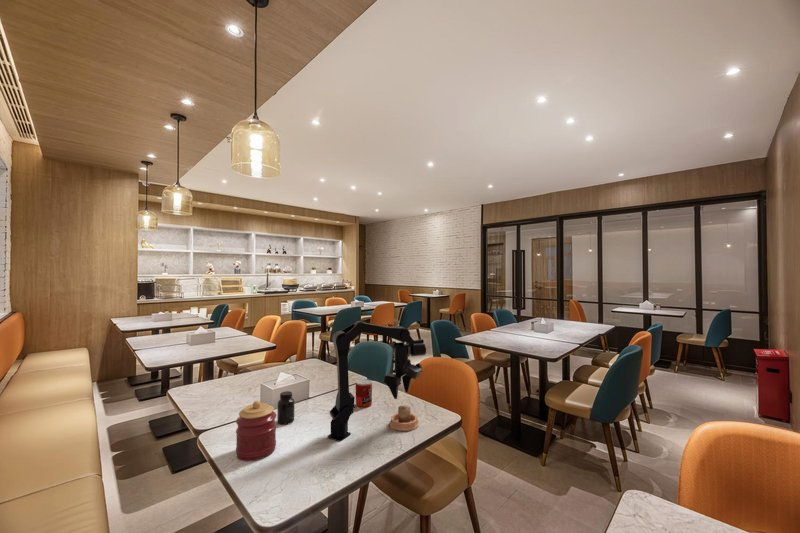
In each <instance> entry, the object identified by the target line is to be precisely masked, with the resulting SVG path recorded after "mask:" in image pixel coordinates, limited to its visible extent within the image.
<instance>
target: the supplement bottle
mask: <svg viewBox="0 0 800 533" xmlns="http://www.w3.org/2000/svg"><path fill="white" fill-rule="evenodd" d="M276 406H277V407H276V408H277V411H276V412H277V413H276V417H277V418H276V419H277V420H276V421H277V424H279V425H282V426H286V425H290V424H292V423H294V421H295V399H294V398H293V392H292V391H288V390H287V391H286V390H285V391H282V392H280V394H279V399H278V401H277V405H276Z"/></svg>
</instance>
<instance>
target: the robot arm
mask: <svg viewBox="0 0 800 533" xmlns="http://www.w3.org/2000/svg"><path fill="white" fill-rule="evenodd" d="M361 333H366V334H371V335H379V336H382V337H388V338H391V339H393V341H392V342H391V343H390V344H389V347H391V348H392V349H394V357H393V358H394V359H392V364H393V363H394V364H393V365H394V367H393V368H394V369H392V370H391V371H392V373H387V374H385V376H383V383H384V384H386V385H387V386H388V388H389V391H390V393H391V394H392V396H393V399H395V400H397V399H398V393H399V386H400V385H402V384H403V385H402V386H403V388H404V392H405V393H408V392H409V389H410V386H411V382H412V380H416V379H417V378H419V377H420V375H421V373H422V372H423V367H422V366H423V365H422V363H420V362H418V363H416V364H412V363H411V362H412V361H411V359H409V355H410V357H421V356H425V355H426V353H427V348H426V344H425V341H424V339H422V338H419V339H413V337H412V336H411V333H410V330H409V329H408V328H406V327H403V326H400V325H397V326H395V325H394V326H393V325H391V326H385V325H379V324H373V323H369V322H363V321H361V320H357V321H355V322H354V323H351V325H348V326H347V327H345V328H343V329H341V330H338V331H335V333H333V335H332V344H333V348H334V350H335V355H336V369H337V374H336V375H337V393H336V397H335V404H334V406H333V407H332V408H331V410H330V411H329V415H330V417H331V418H332V419H331V421H330V433H329V434H328V435H327V438H329V439H332V440H336V441H338V442H342V441H343V440H344V439H346V438H347V437H349V436H351V435H352V434H351V432H349V424H348V423H349V419H350V417H351V416H352V415H353V413H354V411H355V409H356V405H355V401H356V396H354V395H353V393H352V392H350V386H349V384H350V382H349V380H350V379H349V377H350V376H349V359H348V358H349V353H350V352H349V351H350V348H351V343H352V342H353V341H354V340H355V339H356V338H357V337H358V336H360V334H361ZM395 340H396V341H398V342H396V341H395ZM401 381H402V382H401Z"/></svg>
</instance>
